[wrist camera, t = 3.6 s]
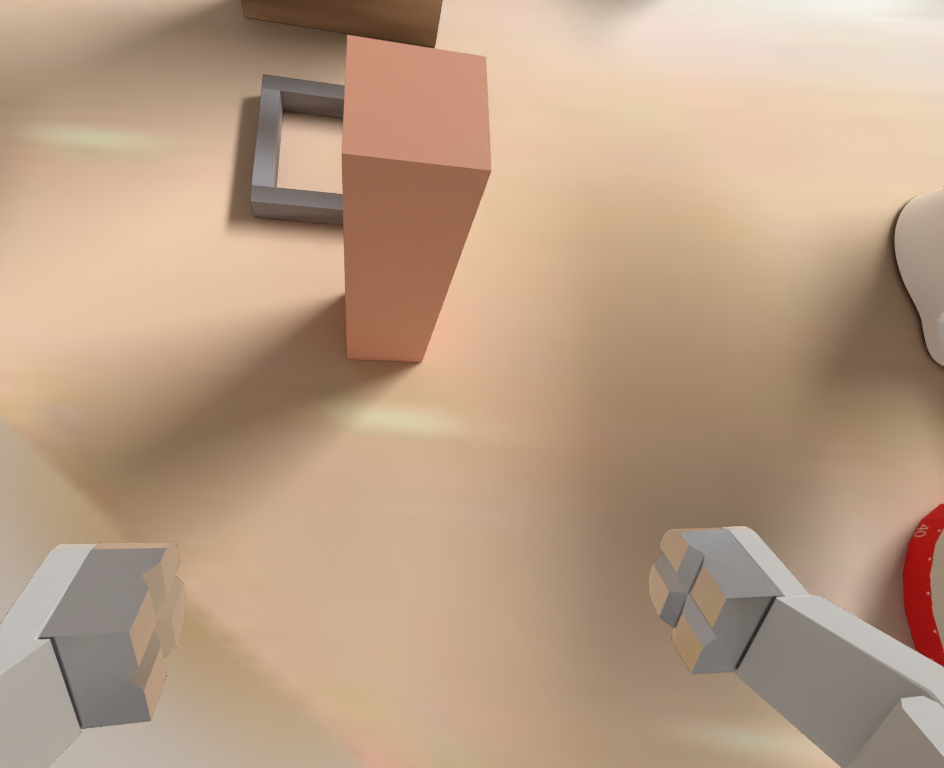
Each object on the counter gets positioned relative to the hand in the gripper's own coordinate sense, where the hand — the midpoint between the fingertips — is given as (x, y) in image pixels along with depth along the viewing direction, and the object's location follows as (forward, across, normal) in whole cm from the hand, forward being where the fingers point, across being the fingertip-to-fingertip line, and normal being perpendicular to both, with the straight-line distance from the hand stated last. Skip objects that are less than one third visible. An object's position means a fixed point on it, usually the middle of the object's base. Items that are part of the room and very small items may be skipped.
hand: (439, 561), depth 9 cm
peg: (+22, 0, +5) cm, 22 cm away
